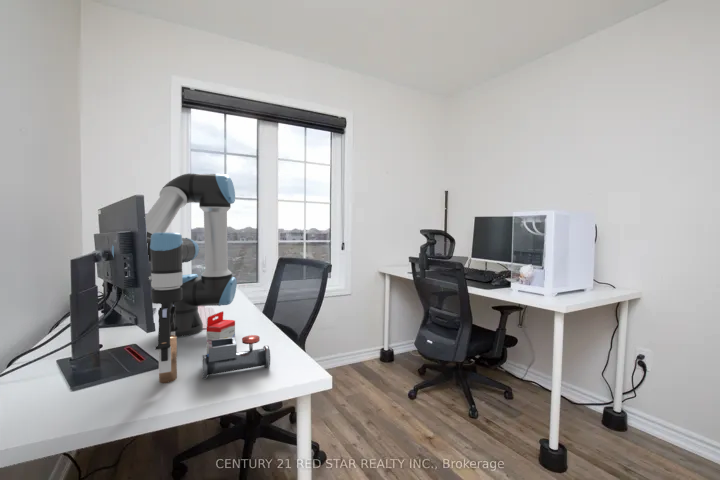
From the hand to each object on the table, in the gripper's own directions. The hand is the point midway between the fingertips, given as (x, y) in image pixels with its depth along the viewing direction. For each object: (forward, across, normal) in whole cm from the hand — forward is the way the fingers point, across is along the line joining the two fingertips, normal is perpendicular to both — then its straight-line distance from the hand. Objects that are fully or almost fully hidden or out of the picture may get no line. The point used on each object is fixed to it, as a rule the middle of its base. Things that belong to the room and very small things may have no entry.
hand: (167, 362), depth 90 cm
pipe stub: (+5, 0, 0) cm, 5 cm away
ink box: (+5, -10, +14) cm, 18 cm away
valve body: (+5, +3, +18) cm, 19 cm away
